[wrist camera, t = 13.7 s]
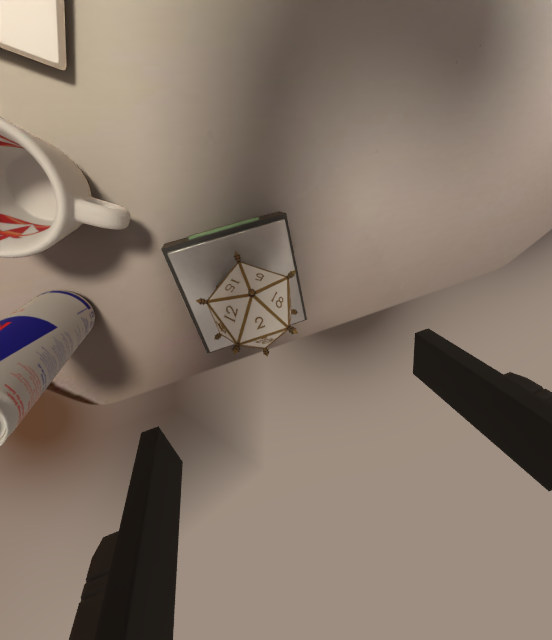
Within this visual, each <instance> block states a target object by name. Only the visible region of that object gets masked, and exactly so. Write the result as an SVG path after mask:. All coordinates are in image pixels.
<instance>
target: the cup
mask: <svg viewBox="0 0 552 640" xmlns="http://www.w3.org/2000/svg"><path fill="white" fill-rule="evenodd" d="M129 221H130V213H129V211H128V210H127V209H126V208H124V207H122V206H119V205H116V204H113V203H110V202H106V201H103V200H100V199H96V198H94V197H92V196H91V191H90V187H89V185H88V182H87V180H86V178H85V176H84V174H83V173H82V172H81V170H80V169H79V168H78V166H77V165H76V164H75V163H74V162H73V161H72V160H71V159H70V158H69V157H68V156H67V155H65V154H64V153H63V152H61V151H60V150H59V149H57V148H55V147H54V146H52V145H50V144H49V143H47V142H45V141H43V140H41V139H40V138H38V137H36V136H34V135H32V134H30V133H29V132H27V131H25V130H23V129H21V128H20V127H18V126H16V125H14V124H12V123H10V122H9V121H7V120H5V119H3V118H1V117H0V257H1V258H19V257H26V256H31V255H35V254H37V253H40V252H42V251H44V250H46V249H48V248H50V247H51V246H53V245H54V244H55V243H57V242H58V241H60V240H61V239H63V238H64V237H66V236H67V235H68V234H70V233H71V232H73V231H74V230H76V229H77V228H78V227H79V226H81V225H82V224H83V223H84V224H88V225H92V226H96V227H101V228H106V229H116V230H119V229H124V228H126V227H127V226H128V225H129Z"/></svg>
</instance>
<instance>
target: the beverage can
mask: <svg viewBox="0 0 552 640" xmlns="http://www.w3.org/2000/svg"><path fill="white" fill-rule="evenodd" d="M94 322H95V314H94V311H93V308H92V307H91V305H90V304H89V303H88V302H87V301H86V300H85V299H84V298H83V297H81V296H79V295H78V294H75V293H73V292H70V291H65V290H52V291H48V292H45V293H43V294H41V295H39V296H37V297H36V298H34V299H33V300H31V301H30V302H28V303H27V304H25V305H24V306H22V307H21V308H19V309H18V310H16V311H15V312H13V313H12V314H10V315H9V316H7V317H6V318H4V319H3V320H1V321H0V446H1V445H2V444H3V443H4V442H5V441H6V439H7V437H8V436H9V435H10V434H11V433H12V432H13V431H14V430H15V429H16V427H17V426H18V424H19V423H20V422H21V421H22V419H23V418H24V417H25V415H26V414H27V413H28V411H29V410H30V409H31V408H32V406H33V405H34V404H35V402H36V401H37V399H38V398H39V397H40V396H41V394H42V393H43V392H44V390H45V389H46V388H47V387H48V385H49V384H50V383H51V381H52V380H53V379H54V377H55V376H56V375H57V373H58V372H59V371H60V369H61V368H62V367H63V366H64V364H65V363H66V362H67V360H68V359H69V358H70V356H71V355H72V354H73V352H74V351H75V350H76V349H77V347H78V346H79V345H80V343H81V342H82V341H83V339H84V338H85V337H86V335H87V334H88V333H89V331H90V330H91V329H92V327H93V325H94Z"/></svg>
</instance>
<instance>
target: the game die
mask: <svg viewBox="0 0 552 640" xmlns="http://www.w3.org/2000/svg"><path fill="white" fill-rule="evenodd" d="M234 257H235V260H236V261H237V263H236V264H235V265H234V267H233V268H232V269H231V270H230V272H229V273H228V274H227V276H226V277H225V278H224V279H223V281H222V282H221V283H220V284H219V285H218V286H216V289H215V291H214V292H213V293H212V294H211V296H210V297H209V298H208V299H207V300H205V299H202V298H200V299H198V300H196V301H197V302H198V303H199V304H200V305H201V304H203V305H204V304H207V306H208V308H209V310H210V312H211V315H212V317H213V319H214V322H215V324H216V326H217V328H218V331H219V333H217V334H216V335H215V338H214V340H217V339H218V340H219V338H221V336H223V337H225V338H227V339H228V340H230V341H231V342H233V343H234V344H236V345H235V346H234V348H233V349H232V350H233V352H234V354H236V353H237V352H239V349H240V346H245V347H254V348H263V352H264V354H265V355H266V356H268V354H269V351H268V349H267V347H268V346H269V345H270V344H271V343H273V342H274V341H275V340H276V339H277V338H279V337H280V336H281V335H282V334H283V333H285V332H286V331H287V330H289V332H291V333H292V334H294V333H298V332H297V330H296V328H294V327H290V322H291V313H292V314H295V315H296V314H297V313H298V311H297V310H296V309H295V310H294V309H293V310H292V309H291V298H290V286H289V279H290V278H292V277H293V276H294V275H295V272H296V270H295V271H290V273H288V275H287V276H285V275H282V274H279V273H275V272H272V271H269V270H266V269H263V268H260V267H257V266H254V265H250V264H247V263H244V262H241V261H240V258H241V257H240V255H239V254H238V253H237V252H236V251H235V255H234Z"/></svg>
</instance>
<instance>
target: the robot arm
mask: <svg viewBox="0 0 552 640" xmlns="http://www.w3.org/2000/svg"><path fill="white" fill-rule="evenodd" d="M413 374H414V375H415V376H416V377H418V378H419V379H420V380H421V381H422V382H423V383H425V384H426V385H427V386H428V387H429V388H430V389H432V390H433V391H434V392H435V393H436V394H437V395H438V396H440V397H441V398H442V399H443V400H444V401H445V402H447V403H448V404H449V405H450V406H451V407H452V408H453V409H455V410H456V411H457V412H458V413H459V414H460V415H461V416H463V417H464V418H465V419H466V420H467V421H468V422H470V423H471V424H472V425H473V426H474V427H475V428H476V429H478V430H479V431H480V432H481V433H482V434H484V435H485V436H486V437H487V438H488V439H489V440H490V441H491V442H493V443H494V444H495V445H496V446H497V447H499V448H500V449H501V450H502V451H503V452H504V453H505V454H507V455H508V456H509V457H510V458H511V459H512V460H513V461H515V462H516V463H517V464H518V465H519V466H520V467H521V468H523V469H524V470H525V471H526V472H527V473H529V474H530V475H531V476H532V477H533V478H534V479H535V480H537V481H538V482H539V483H540V484H541V485H542V486H544V487H545V488H546V489H547V490H548V491H551V490H552V392H550V391H548V390H547V389H543V388H542V386H540V385H538V384H536V383H535V382H533V381H531V380H529V379H528V378H525V377H522V376H520V375H517V374H514V373H511V372H509V373H507V374H504V375H503V374H501V373H500V372H498V371H497V370H495V369H493V368H492V367H490V366H488V365H487V364H485V363H484V362H482V361H480V360H479V359H477V358H475V357H474V356H472V355H470V354H469V353H467V352H466V351H464V350H462V349H461V348H459V347H458V346H456V345H454V344H453V343H451V342H449V341H448V340H446V339H444V338H443V337H441V336H439V335H438V334H436V333H435V332H433V331H432V330H430V329H425V330H423V331H420V332H417V333H415V346H414V365H413ZM181 481H182V460H181V459H180V457H179V456H178V455H177V453H176V452H175V450H174V449H173V447H172V446H171V445H170V443H169V441H168V440H167V438H166V437H165V435H164V434H163V432H162V431H161V430H160V428H159V427H156V428H153V429H150V430H148V431H145V432H142V433H141V437H140V441H139V445H138V450H137V454H136V459H135V463H134V467H133V472H132V476H131V480H130V485H129V489H128V494H127V498H126V503H125V507H124V511H123V515H122V520H121V524H120V529H119V531H118V532H116V533H113V534H110V535H108V536H105V537H103V539H102V541H101V543H100V545H99V546H98V548H97V550H96V552H95V554H94V555H93V557H92V560H91V564H90V567H89V571H88V574H87V578H86V584H85V585H84V589H83V592H82V596H81V602H80V603H79V606H78V609H77V613H76V616H75V620H74V624H73V627H72V631H71V634H70V637H69V640H173V627H174V608H175V591H176V590H175V589H176V572H177V553H178V536H179V518H180V498H181Z"/></svg>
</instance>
